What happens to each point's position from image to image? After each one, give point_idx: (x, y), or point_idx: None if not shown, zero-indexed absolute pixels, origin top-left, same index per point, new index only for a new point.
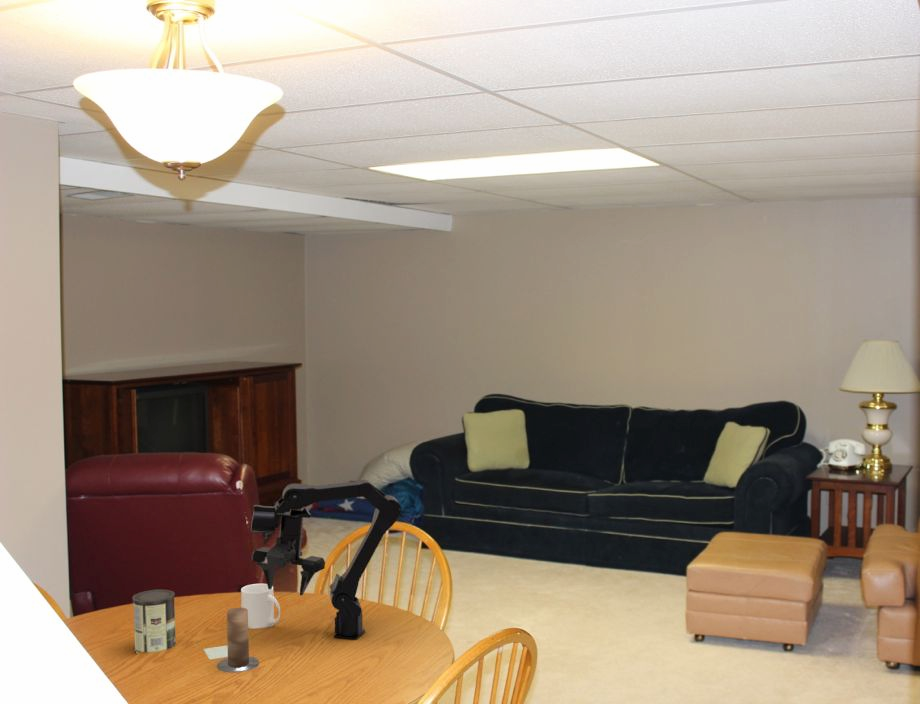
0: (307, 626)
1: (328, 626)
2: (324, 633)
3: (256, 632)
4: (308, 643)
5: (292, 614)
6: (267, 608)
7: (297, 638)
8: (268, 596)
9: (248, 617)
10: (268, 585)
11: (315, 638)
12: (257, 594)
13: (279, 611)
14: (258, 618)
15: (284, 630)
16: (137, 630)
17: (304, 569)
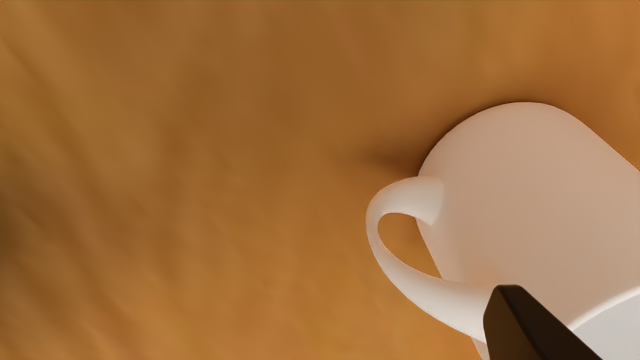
0: (224, 264)
1: (109, 299)
2: (52, 212)
3: (478, 99)
4: (17, 20)
5: (382, 352)
6: (476, 240)
7: (164, 86)
8: None
9: (579, 141)
10: (544, 323)
11: (43, 123)
12: (617, 282)
13: (373, 240)
14: (505, 156)
15: (323, 178)
16: None
17: None
